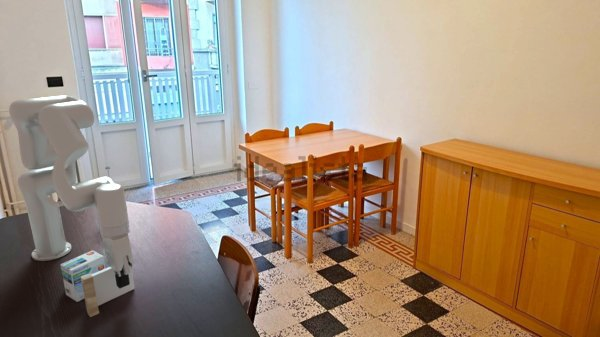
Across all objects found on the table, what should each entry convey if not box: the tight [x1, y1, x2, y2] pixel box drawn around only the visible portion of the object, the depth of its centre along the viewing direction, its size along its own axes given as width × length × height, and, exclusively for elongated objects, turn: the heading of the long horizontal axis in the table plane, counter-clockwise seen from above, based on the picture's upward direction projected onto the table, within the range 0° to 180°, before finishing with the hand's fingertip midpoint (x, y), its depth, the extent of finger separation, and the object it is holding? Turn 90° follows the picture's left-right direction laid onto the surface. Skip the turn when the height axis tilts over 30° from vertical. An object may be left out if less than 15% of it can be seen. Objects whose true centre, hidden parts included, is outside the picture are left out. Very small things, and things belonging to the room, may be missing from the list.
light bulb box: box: [60, 249, 107, 303], centre depth 129 cm, size 11×7×11 cm, turn 146°
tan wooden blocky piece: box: [81, 273, 100, 318], centre depth 124 cm, size 20×2×12 cm, turn 44°
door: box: [91, 266, 136, 307], centre depth 125 cm, size 14×1×10 cm, turn 139°
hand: (123, 285), depth 122 cm, fingers closed
